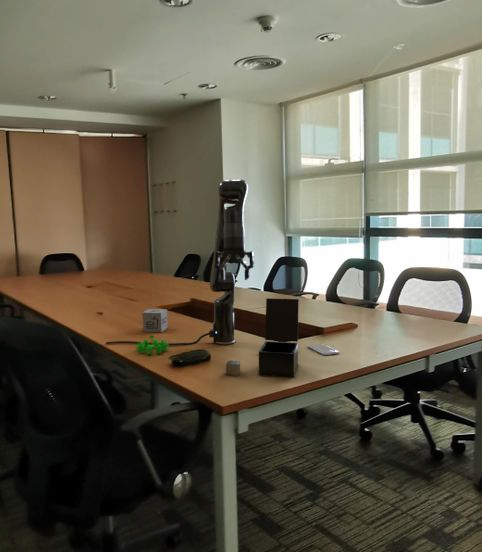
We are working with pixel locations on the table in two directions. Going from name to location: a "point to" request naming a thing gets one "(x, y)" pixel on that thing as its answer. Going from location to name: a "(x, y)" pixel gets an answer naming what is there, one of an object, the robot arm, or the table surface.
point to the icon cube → (155, 320)
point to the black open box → (278, 359)
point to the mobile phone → (323, 349)
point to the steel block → (233, 368)
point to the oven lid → (282, 319)
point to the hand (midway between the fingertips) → (234, 279)
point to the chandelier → (152, 346)
